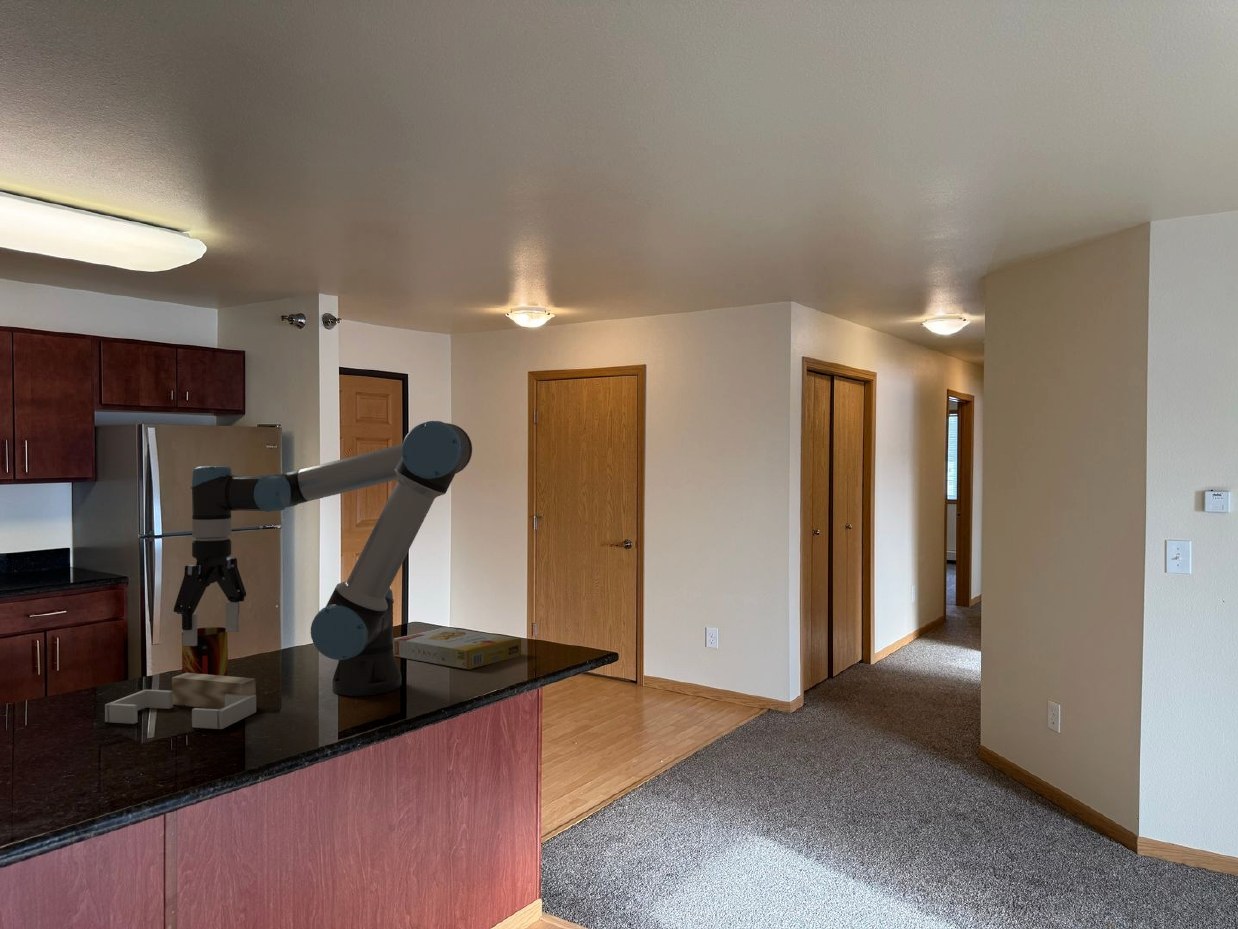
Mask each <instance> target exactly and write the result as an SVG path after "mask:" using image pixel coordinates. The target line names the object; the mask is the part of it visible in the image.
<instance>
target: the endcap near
mask: <svg viewBox="0 0 1238 929" xmlns="http://www.w3.org/2000/svg"><path fill="white" fill-rule="evenodd" d="M255 713H257V694H256V695H244V694H226V695H225V708H222V709H214V708H204V707H193V708H192V709H191V725H192V726H191V728H197V729H199V728H200V729H212V730H213V729H214V730H223V729H225V728H227V727H230V726H231V725H233V724H235V723H237V722H239V721H241V720H243V719H245V718H247V717H249V716H251V715H253V714H255Z"/></svg>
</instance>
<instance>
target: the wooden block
mask: <svg viewBox="0 0 1238 929" xmlns="http://www.w3.org/2000/svg"><path fill="white" fill-rule="evenodd" d="M171 691H173V706H174V705H176V706H184V705H185V707H193V708H205V709H222V708H225V695H226V694H244V695H256V696H257V692H256V678H253V677H241V676H229V675H228V676H219V675H207V674H196V673H184V674H182V673H181V674H178V675H175V676H172V677H171Z"/></svg>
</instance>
